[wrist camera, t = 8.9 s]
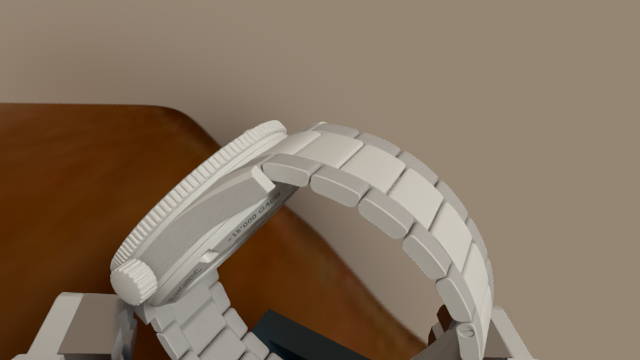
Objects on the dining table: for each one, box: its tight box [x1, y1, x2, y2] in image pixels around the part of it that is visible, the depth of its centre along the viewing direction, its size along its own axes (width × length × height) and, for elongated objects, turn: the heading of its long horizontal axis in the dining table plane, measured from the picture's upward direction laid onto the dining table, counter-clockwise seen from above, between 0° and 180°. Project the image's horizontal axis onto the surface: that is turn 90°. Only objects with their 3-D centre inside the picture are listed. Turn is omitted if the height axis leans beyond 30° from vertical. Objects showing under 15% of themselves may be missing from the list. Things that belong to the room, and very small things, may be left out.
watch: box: [110, 120, 494, 360], centre depth 11 cm, size 6×8×11 cm
